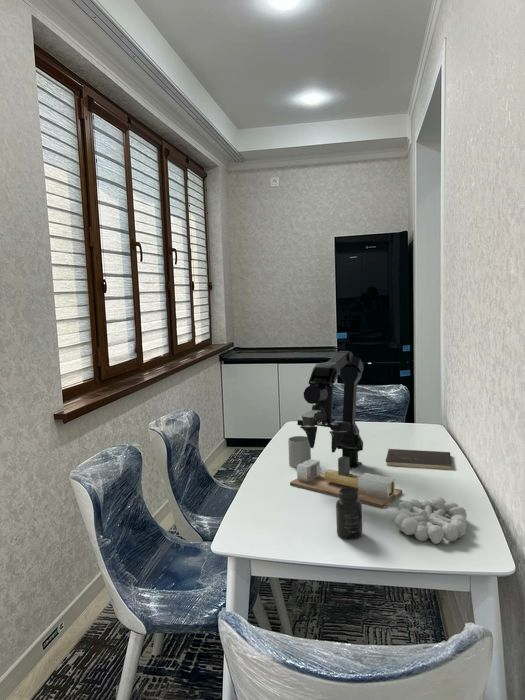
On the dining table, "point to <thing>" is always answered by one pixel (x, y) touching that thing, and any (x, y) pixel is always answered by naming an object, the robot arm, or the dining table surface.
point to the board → (334, 488)
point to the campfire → (431, 519)
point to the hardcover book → (419, 458)
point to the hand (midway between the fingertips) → (322, 450)
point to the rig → (366, 482)
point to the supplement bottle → (349, 514)
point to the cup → (298, 450)
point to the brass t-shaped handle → (344, 474)
